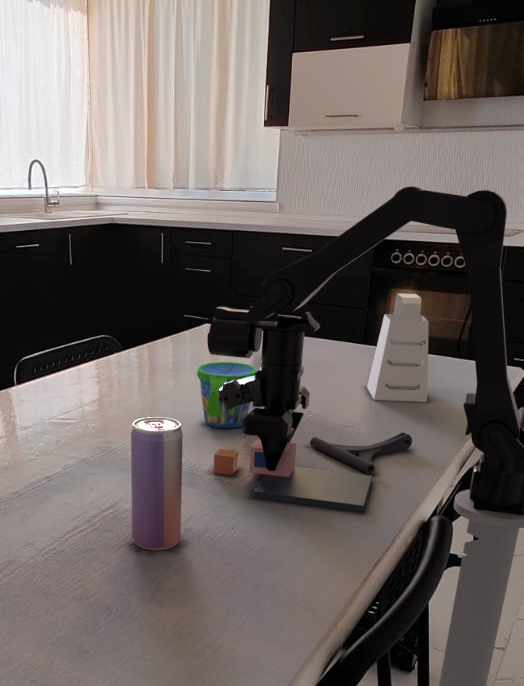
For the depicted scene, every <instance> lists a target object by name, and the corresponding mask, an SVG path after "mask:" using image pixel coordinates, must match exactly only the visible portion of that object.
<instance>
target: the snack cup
mask: <svg viewBox="0 0 524 686" xmlns="http://www.w3.org/2000/svg"><path fill="white" fill-rule="evenodd" d="M257 370H258V369H257V367H255V366H254V365H251V364H247V363H243V362H235V361H234V362H233V361H218V362H217V361H216V362H208V363H204V364H200V365H199V366H198V368H197V371H196V375H197V378H198V380H199V382H200V393H201V403H202V409H203V418H204V422H205V425H210V426H212V427H214V428H219V429H235V428H240V427H243V419H244V418H245V417H246V416H247V415H248V414H249V410H250V405H251V402H250V403H247V404H243V405H239V406H235V407H233V409H229V410H225V407H224V404H223V402H220V401H219V397H220V394H219V389H220V388H221V387H222V386H223V384H224V383H225V382H227V381H228V382H231V381H233V380H234V379H236V380H239V379H243V378H246V377H250V376H255V373H256V371H257Z"/></svg>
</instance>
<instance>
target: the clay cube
mask: <svg viewBox="0 0 524 686" xmlns="http://www.w3.org/2000/svg"><path fill="white" fill-rule="evenodd" d="M238 462H239V450H237V449H236V450H235V449H226V448H218V450H216V452H215V453H214V455H213V473H214V474H219V475H226V476H234V474H235V473H236V471H238V465H239V464H238Z"/></svg>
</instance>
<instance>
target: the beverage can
mask: <svg viewBox="0 0 524 686" xmlns="http://www.w3.org/2000/svg"><path fill="white" fill-rule="evenodd" d="M183 434H184V433H183V431H182V424H181V422H180V421H179V420H177V419H174V418H170V417H162V416H150V417H143V418H139V419H136V420H135V421H134V422H133V423H132V429H131V432H130V473H131V474H130V475H131V476H130V479H131V482H130V483H131V484H130V485H131V538H132V540H133V542H134V544H135V545H136V546H137V547H139V548H140V549H143V550H146V551H153V552H157V551H160V552H161V551H166V550H170V549H172V548H174V547H175V546H176V545H178V543H179V542H180V540H181V538H182V495H183V494H182V493H183V492H182V489H183V488H182V487H183V485H182V483H183V436H184V435H183Z"/></svg>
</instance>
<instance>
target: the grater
mask: <svg viewBox="0 0 524 686" xmlns="http://www.w3.org/2000/svg"><path fill="white" fill-rule="evenodd" d="M421 311H422V297H421V296H420V295H418V294H417V293H396V296H395V302H394V309H393V313H384V315H383V318H382V324H381V326H380V327H381V328H380V333H379V336H378V340H377V344H376V348H375V352H374V357H373V360H372V365H371V369H370V372H369V378H368V382H367V386H366V388H367V390H368V392H369V393H370V396H371V398H372V399H373V400H374V401H392V402H393V401H394V402H420V403H422V402H423V403H426V402H428V371H429V370H428V369H429V368H428V367H429V327H430V325H429V320H428V319H427V318H426V317H425V316H423V315H422V314H421Z"/></svg>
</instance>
